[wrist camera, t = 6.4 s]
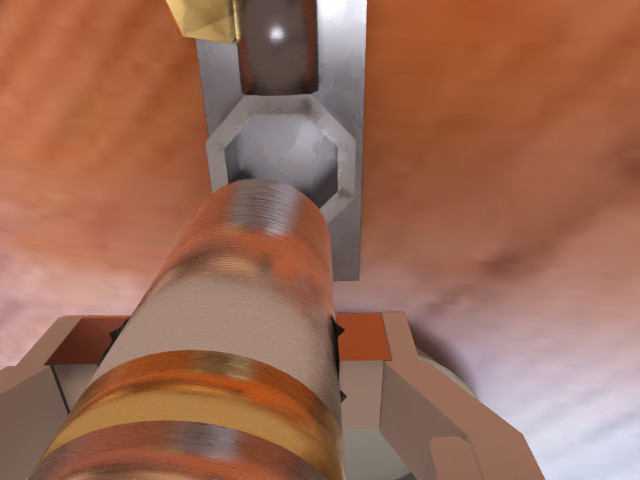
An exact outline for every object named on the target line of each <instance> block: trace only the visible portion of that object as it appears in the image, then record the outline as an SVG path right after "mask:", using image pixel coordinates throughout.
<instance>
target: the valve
mask: <svg viewBox="0 0 640 480" xmlns="http://www.w3.org/2000/svg"><path fill="white" fill-rule="evenodd" d="M337 352H338V350H337V342H336V325H335V303H334V288H333V273H332V258H331V243H330V234H329V229H328V226H327V223H326V220H325V218H324V217H323V215H322V213H321V211H320V210H319V209H318V207H317V206H316V205H315V204H314V203H313V202H312V200H311V199H310V198H308V197H307V196H306V195H305V194H303V193H302V192H301V191H299V190H297V189H296V188H294V187H292V186H290V185H287V184H285V183H282V182H279V181H275V180H270V179H259V178H254V179H244V180H239V181H236V182H233V183H230V184H227V185H225V186H223V187H221V188H220V189H218V190H217V191H215V192H214V193H212V194H211V195H210V196H209V197H208V198H207V199H206V200H205V201H204V203H203V204H202V205H201V206H200V208H199V210H198V211H197V213H196V214H195V216H194V218H193V219H192V221H191V222H190V224H189V225H188V227H187V229H186V230H185V232H184V233H183V235H182V236H181V238H180V240H179V241H178V243H177V244H176V246H175V248H174V249H173V251H172V252H171V254H170V255H169V257H168V259H167V260H166V262H165V263H164V265H163V266H162V268H161V270H160V271H159V273H158V274H157V276H156V278H155V279H154V281H153V282H152V284H151V285H150V287H149V289H148V290H147V292H146V293H145V295H144V296H143V298H142V300H141V301H140V303H139V304H138V306H137V308H136V309H135V311H134V312H133V314H132V315H131V317H130V319H129V320H128V322H127V323H126V325H125V326H124V328H123V330H122V331H121V333H120V334H119V336H118V338H117V339H116V341H115V342H114V344H113V345H112V347H111V349H110V350H109V352H108V353H107V355H106V356H105V358H104V360H103V361H102V363H101V364H100V366H99V368H98V369H97V371H96V372H95V374H94V375H93V377H92V379H91V380H90V382H89V383H88V385H87V386H86V388H85V390H84V391H83V393H82V394H81V396H80V398H79V399H78V401H77V402H76V404H75V405H74V407H73V409H72V410H71V412H70V413H69V415H68V416H67V418H66V420H65V421H64V423H63V424H62V426H61V428H60V429H59V431H58V432H57V434H56V435H55V437H54V439H53V440H52V442H51V443H50V445H49V446H48V448H47V450H46V451H45V453H44V454H43V456H42V458H41V459H40V461H39V462H38V464H37V465H36V467H35V469H34V470H33V472H32V473H31V475H30V476H29V478H28V480H346V471H345V456H344V440H343V425H342V410H341V395H340V383H339V372H338V358H337Z"/></svg>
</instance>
